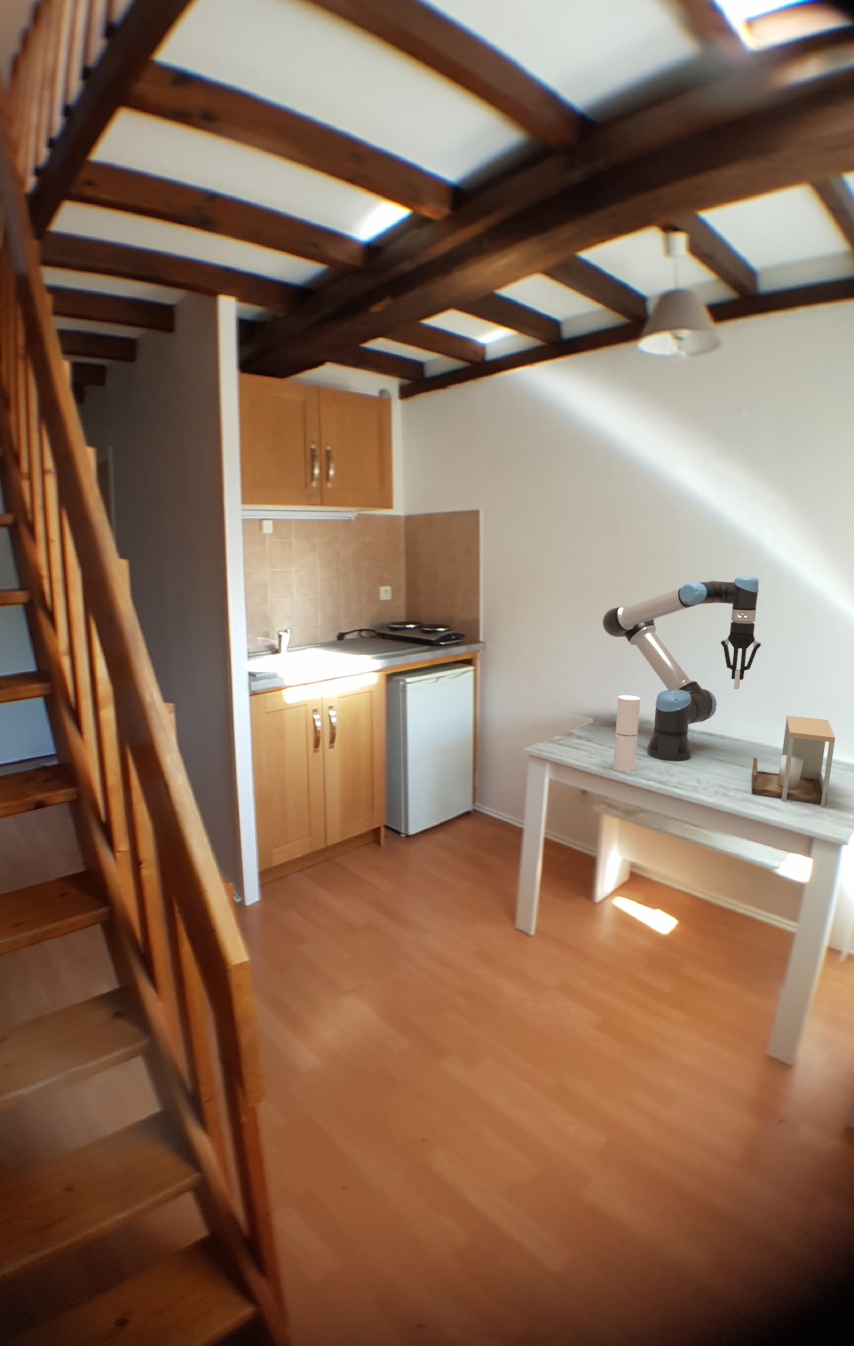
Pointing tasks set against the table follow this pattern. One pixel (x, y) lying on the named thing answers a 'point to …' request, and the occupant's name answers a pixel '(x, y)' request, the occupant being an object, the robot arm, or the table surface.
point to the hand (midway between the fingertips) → (736, 688)
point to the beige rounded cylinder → (791, 771)
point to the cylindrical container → (626, 732)
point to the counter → (808, 750)
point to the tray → (768, 786)
